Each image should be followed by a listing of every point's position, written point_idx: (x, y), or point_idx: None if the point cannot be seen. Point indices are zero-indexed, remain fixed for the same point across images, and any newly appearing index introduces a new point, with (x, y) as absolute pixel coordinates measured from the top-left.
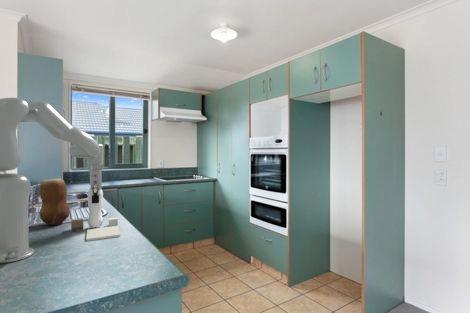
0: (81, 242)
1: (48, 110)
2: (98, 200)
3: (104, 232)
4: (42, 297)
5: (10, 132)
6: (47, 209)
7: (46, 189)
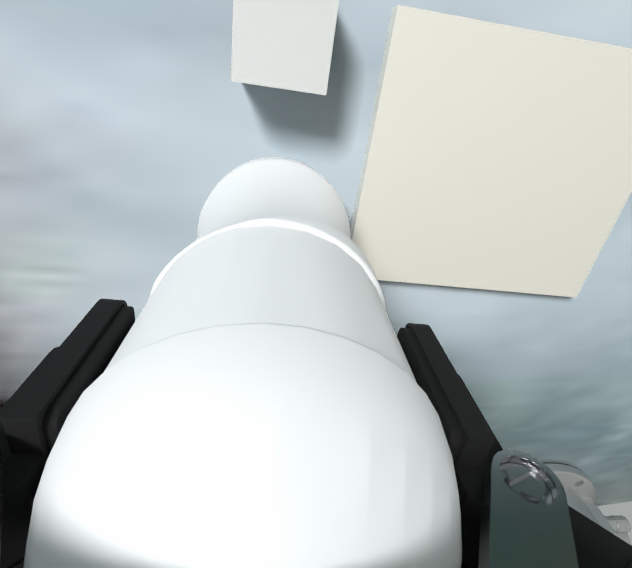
0: (564, 312)
1: None
2: (438, 353)
3: (530, 174)
4: None
5: None
6: None
7: None
